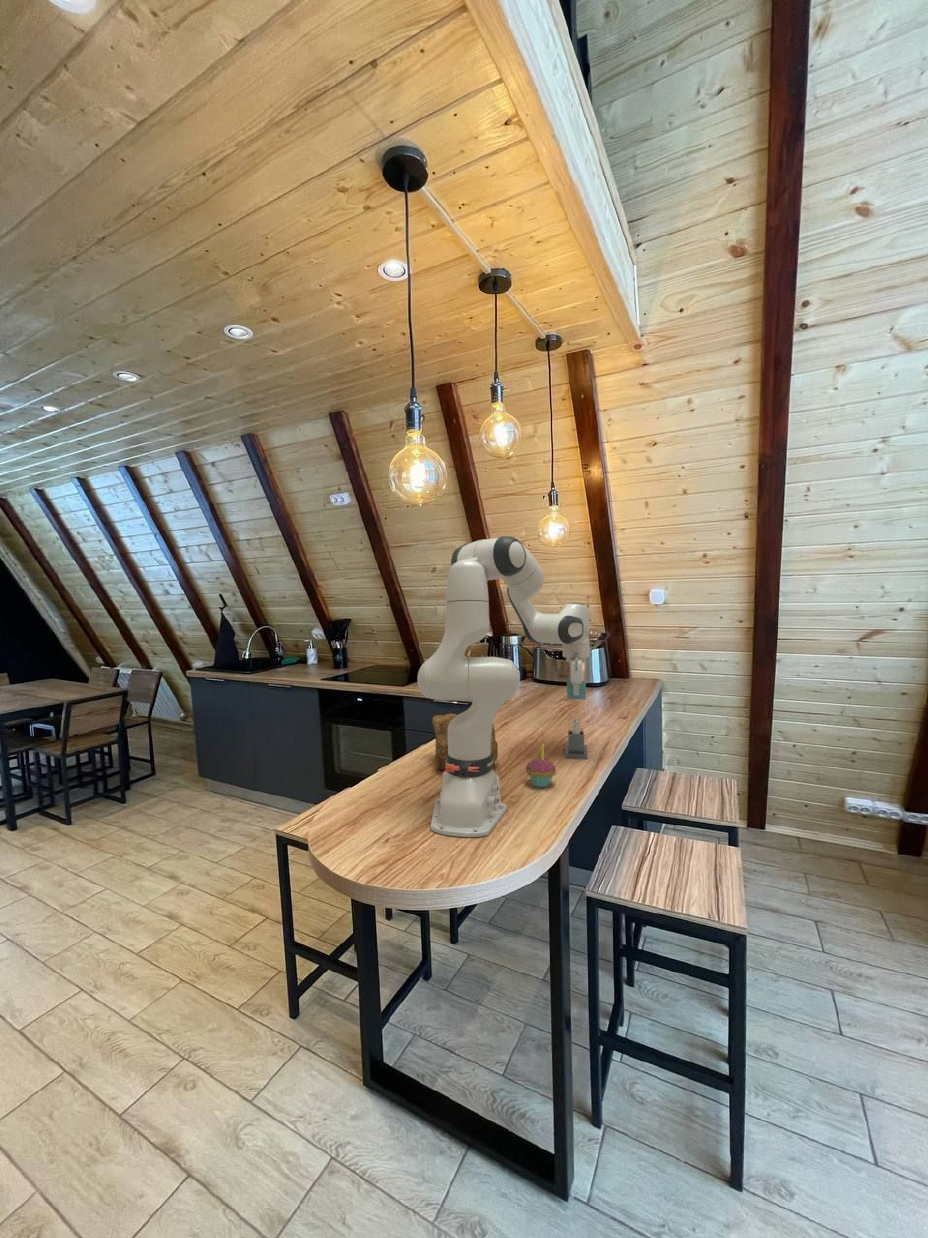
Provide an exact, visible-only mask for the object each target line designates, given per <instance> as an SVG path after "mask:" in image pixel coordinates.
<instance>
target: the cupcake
mask: <svg viewBox="0 0 928 1238" xmlns="http://www.w3.org/2000/svg"><path fill="white" fill-rule="evenodd" d="M540 752H541V757H540V758H534V759H533V760H531V761H529V762H528V763H527V764H526V766H525V768H526V769H525V773H526V775H528V776H529V777H530V780H531V784H532V785H533V786H534V787H536V788H547V787H549V786H550V783H551V779H552V778H553V776H554V775H556V774H557V769H556V765H555V764H554V763H553V762H552V761H550V760H548V759H546V758H545V757H544V756H545V744H544V741H543V740H542V743H541V751H540Z"/></svg>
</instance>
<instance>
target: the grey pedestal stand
mask: <svg viewBox="0 0 928 1238" xmlns="http://www.w3.org/2000/svg"><path fill="white" fill-rule="evenodd" d="M571 721H572V727H571V728H572V729H569V730H568V736H567V737H568V738H567V739H568V741H567V742H568V743H565V749H564V750H565V751H564V753H565V754H564V755H565V757H564V758H565V759H578V760H588V750H587V749H588V747H587V745H586V744H585V732H584V730H581V727H580V726H581V725H580V724H581V720H580V719H578V718H574V719H572V720H571Z"/></svg>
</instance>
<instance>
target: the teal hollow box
mask: <svg viewBox="0 0 928 1238" xmlns="http://www.w3.org/2000/svg"><path fill="white" fill-rule="evenodd" d="M586 684H587V683H586V680H582V684H580V687H579V695H574V694H573V684H571V681H570V680H567V681H566V699H567V700H586V699H587V696H586V693H587V691H586V690H587V689H586V688H587V686H586Z"/></svg>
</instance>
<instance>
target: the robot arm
mask: <svg viewBox="0 0 928 1238" xmlns="http://www.w3.org/2000/svg"><path fill="white" fill-rule="evenodd" d="M498 579H502V580H503V582H504V583H505V585H506V586H507V588H506V593H507V597H508V600H509V602H510V604H511V605H512V607H513V609H514V612H515V614H516V615H517V617H518V619H519V621H520V623H521V626H522V628H523V633H524V636H526V639H527V640H528V641H529V642H530V643H532V644H533V643H534V644H552V645H553V644H554V645H562V657H563V658H566V661H565V662H567V663H569V670H570V671H569V672H570V677H569V678H570V680H569V681H571V684H573V694H574V695H579V687H580V684H582V681H583V663H586V662H587V659H588V658H590V656H591V650H590V649H591V645H590V644H591V642H590V641H591V640H590V639H589V638H590V636H589V634H590V628H591V623H590V622H591V621H590V611H589V607H588V606H587V605H586V604H583V603H578V602H577V603H576V602H568V603H565V604H564V606H563V609H562V610H561V611H560V612H557V613H543V612H539V611H538V610H536V609H535V606H534V605H533V602H532V601H531V599H532V598H534V597H535V596H536V595H537V594H539V592H540V591H541V589H542V588H543V585H544V583H545V574H544V572H543V569H542V567H541V565H540V564H539V562H538V561H537V560H536V558H535V557H534V555H533V554H532V552H531V551H530V550H529V549H528V548H527V547H526V546H525V545H524V544H523V543H522V542H521V541H520V540H519V539H518V538H517V537H514V536H508V535H506V536H505V535H503V536H499V537H494V538H486V539H485V538H482V539H479V540H476V541H473V542H470V543H465V544H462V545H461V546H458V547H457V548H456V549H455V550H454V551H453V553H452V554H451V560H450V568H449V569H448V574H447V581H446V589H445V623H444V624H445V626H444V632H443V636H442V640H441V642H440V644H439V646H438V647H437V649H436V651H435V652H433V654H432V655H431V656H430V657H429V658H428V659H427V660H425V661H424V662H423V663H422V665H421V666H420V668H419V669H418V672H417V677H416V678H417V686H418V688H419V691H420V693H421V694H422V695H423V696H424V697H425V698H426V699H431V700H436V701H440V702H441V701H442V702H446V701H447V702H448V701H449V702H451V701H452V702H454V701H457V702H458V701H464V702H465V701H469V702H471V706H470V707H469V708H467V709H466V710H465V711H462V712H461V713H459V714H456V715H457V716H456V717H454V718H453V719H452V720H451V721H450V723H449V725H448V753H447V757H446V767H445V769H444V770H443V772H442V783H441V791H439V792H438V797H439V798H436V799H435V800H434V804H433V805H434V806H433V811H432V817H431V821H430V830H431V831H432V832H434V833H437V834H441V835H445V836H451V837H459V838H460V837H461V838H477V837H485V836H487V835H489V834H490V833H491V832H492V830H493V829H494V828H495V826H496V825H497V824H498V822H499V821H500V820H501V819H502V818H503V816H504V815H505V813H506V811H507V810H508V808H507V807H508V806H507V804H506V803H503V802H501V793H500V792H501V791H500V789H501V787H500V777H499V775H498V774H497V773H496V772H495V771H494V769H493V768H494V764H493V753H492V752H491V734H492V725H494V720H495V717H496V715H497V713H498V712H499V709H501V707H502V706H503V705H504V703H506V701H508V699H510V698H511V697H513V696H514V695H515V694H516V692H517V690H518V688H519V685H520V680H521V677H520V673H519V669H518V667H517V666H516V664H515V662H514V661H512V660H511V659H508V658H504V657H503V658H502V657H497V656H466V653H465V652H466V650H467V649H468V648H469V647H470V646H472V645H474V644H476V643H478V642H480V641H482V640H483V639H484V638H485V637H486V636H487V635H488V633H489V631H490V605H489V603H490V602H489V601H490V599H489V598H490V597H489V588H488V581H493V580H494V581H495V580H498Z"/></svg>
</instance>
